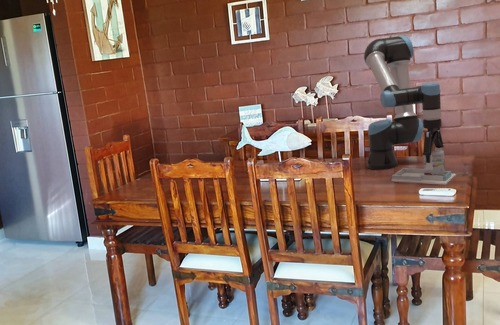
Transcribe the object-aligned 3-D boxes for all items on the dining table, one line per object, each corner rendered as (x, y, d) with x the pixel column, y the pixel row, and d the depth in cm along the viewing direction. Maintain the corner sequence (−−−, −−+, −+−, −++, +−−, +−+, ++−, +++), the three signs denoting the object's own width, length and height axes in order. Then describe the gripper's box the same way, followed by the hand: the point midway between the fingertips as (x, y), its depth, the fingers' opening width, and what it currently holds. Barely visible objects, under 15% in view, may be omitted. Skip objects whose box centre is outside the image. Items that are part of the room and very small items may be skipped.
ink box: (423, 179, 226) (422, 153, 224) (425, 176, 230) (423, 150, 228) (444, 178, 222) (443, 152, 220) (445, 176, 227) (444, 150, 224)
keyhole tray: (404, 172, 243) (403, 167, 242) (456, 175, 228) (455, 169, 228) (391, 181, 231) (391, 176, 230) (445, 184, 216) (445, 178, 216)
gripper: (432, 114, 233) (434, 159, 237) (413, 123, 214) (416, 172, 218) (449, 113, 228) (451, 159, 233) (431, 123, 209) (433, 173, 213)
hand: (434, 165), depth 225 cm, fingers open, 13 cm apart
